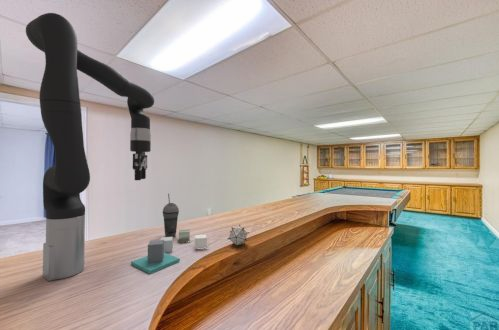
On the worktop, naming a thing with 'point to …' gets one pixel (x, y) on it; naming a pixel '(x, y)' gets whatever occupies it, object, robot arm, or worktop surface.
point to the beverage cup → (170, 219)
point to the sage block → (184, 235)
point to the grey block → (167, 244)
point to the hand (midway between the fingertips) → (140, 179)
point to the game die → (238, 235)
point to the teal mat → (154, 267)
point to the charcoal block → (155, 251)
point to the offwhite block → (200, 241)
